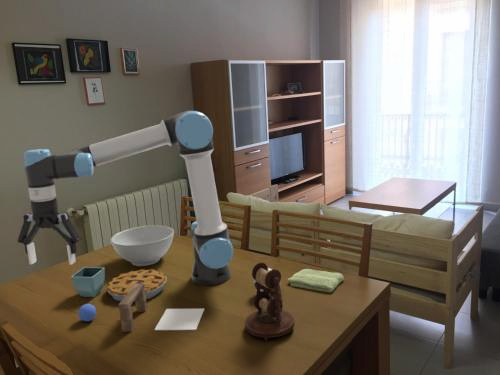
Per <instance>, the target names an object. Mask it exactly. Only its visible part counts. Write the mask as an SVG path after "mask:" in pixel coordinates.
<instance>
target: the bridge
mask: <svg viewBox="0 0 500 375" xmlns="http://www.w3.org/2000/svg"><path fill="white" fill-rule="evenodd" d="M134 300H135V301H134ZM134 302H135V303H134ZM133 303H134V304H135V308H136V312H138V313H139V312H140V313H142V312H143V313H144V312H147V310H148V304H147V303H148V302H147V299H146V295H145V287H144V284H135V285H134V286H133V287H132V289H131V290H130V291H129V292H128V294H127V295H126V296H125V297H124V298H123V300H122V301H119V304H118V310H119V316H120V324H121V329H122V330H121V331H122V332H123V333H132V332H133V331H134V330H135V324H134V318H133V312H132V311H133V310H132V304H133Z"/></svg>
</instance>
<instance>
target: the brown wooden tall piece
mask: <svg viewBox="0 0 500 375" xmlns="http://www.w3.org/2000/svg"><path fill="white" fill-rule="evenodd" d="M268 268H269V267H268V265H267V264H266V263H265V262H258V263H256V264H255V265H254V266H253V268H252V271H251V276H252V278H253V279H254V280H256V282H255V286H254V288H255V289H257V290H256V295H255V296H254V298H253V306H254V307H255V308H256V309H257V310H256V311H253V312H252V313H250V314H249V315H248V316H247V317H246V318H245V320H244V328H245V330H246V331H247V333H249V334H250V335H252V336H255V337H258V338H263V340H264V342H267V341H268V339H271V338H279V337H281V336H284V335H287V334H288V333H290V332H291V331H293V330H294V326H295V318H294V317H293V315H292V314H291V313H290V312H287V311H286V310H283V307H284V306H283V305H284V304H283V296H282V289H281V285H280V284H279V283H280V281H282V280H281V279H282V274H281V271H280V270H278V269H276V268H273V269H272V270H270V271H268ZM253 279H252V280H253ZM260 289H261V290H263V291H260ZM269 294H270V295H269Z"/></svg>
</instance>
